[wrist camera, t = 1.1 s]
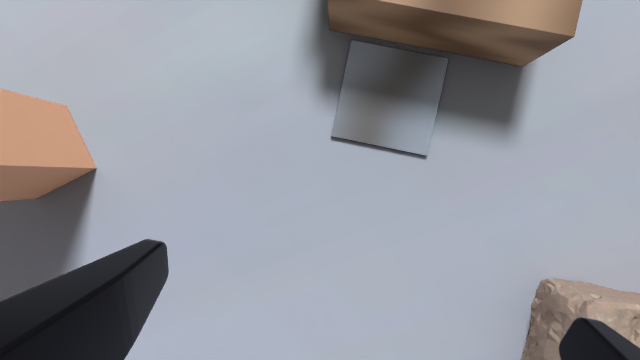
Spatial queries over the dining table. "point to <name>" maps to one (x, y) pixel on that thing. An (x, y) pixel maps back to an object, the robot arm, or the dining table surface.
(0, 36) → the dining table surface
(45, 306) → the robot arm
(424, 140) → the structure
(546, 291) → the brick
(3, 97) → the post
